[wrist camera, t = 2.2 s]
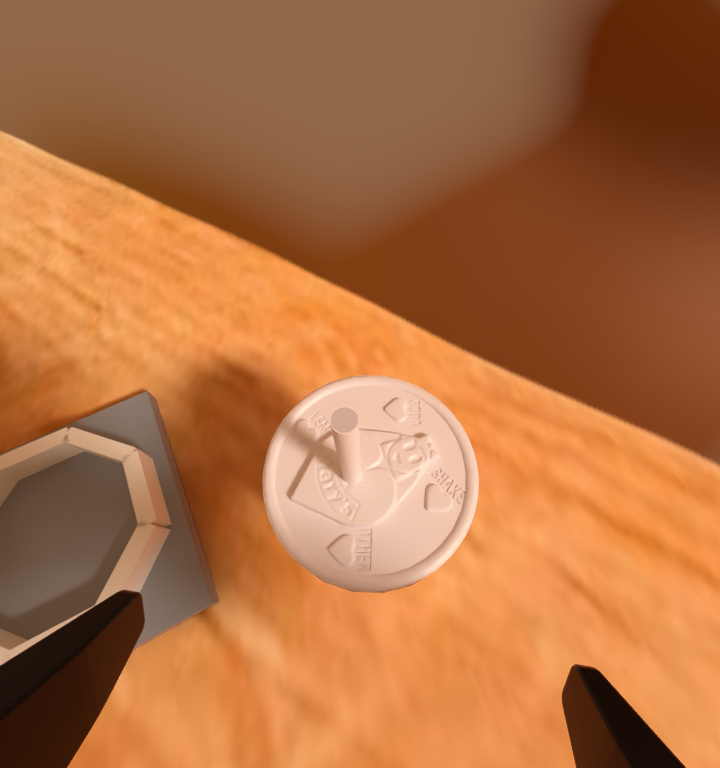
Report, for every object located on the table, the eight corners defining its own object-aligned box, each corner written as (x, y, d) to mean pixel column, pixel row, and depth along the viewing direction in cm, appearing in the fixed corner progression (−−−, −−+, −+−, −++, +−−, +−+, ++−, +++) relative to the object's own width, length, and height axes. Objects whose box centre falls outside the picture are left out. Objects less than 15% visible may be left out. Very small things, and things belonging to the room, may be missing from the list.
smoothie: (291, 480, 21) (177, 330, 8) (401, 440, 22) (448, 249, 9) (329, 610, 18) (244, 677, 5) (453, 557, 19) (622, 512, 6)
